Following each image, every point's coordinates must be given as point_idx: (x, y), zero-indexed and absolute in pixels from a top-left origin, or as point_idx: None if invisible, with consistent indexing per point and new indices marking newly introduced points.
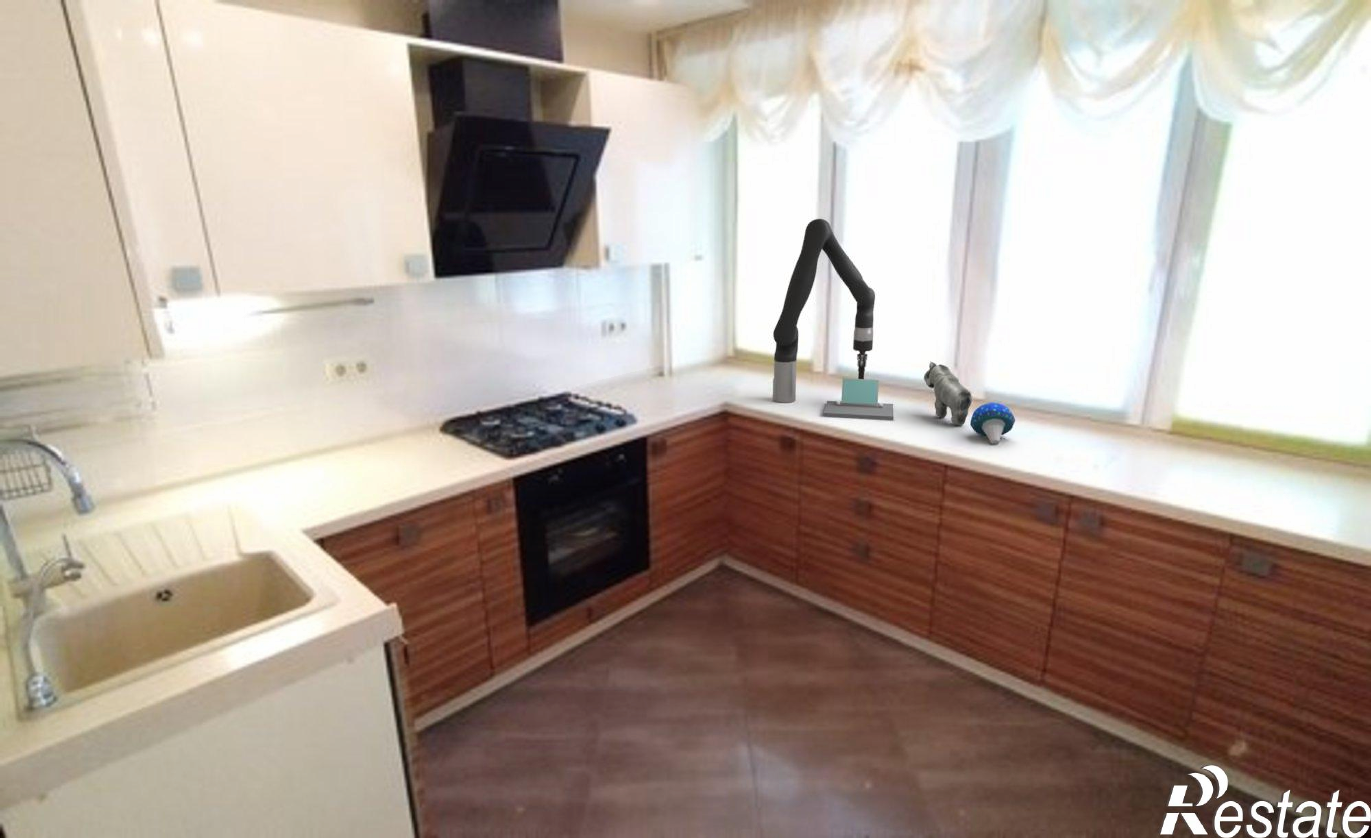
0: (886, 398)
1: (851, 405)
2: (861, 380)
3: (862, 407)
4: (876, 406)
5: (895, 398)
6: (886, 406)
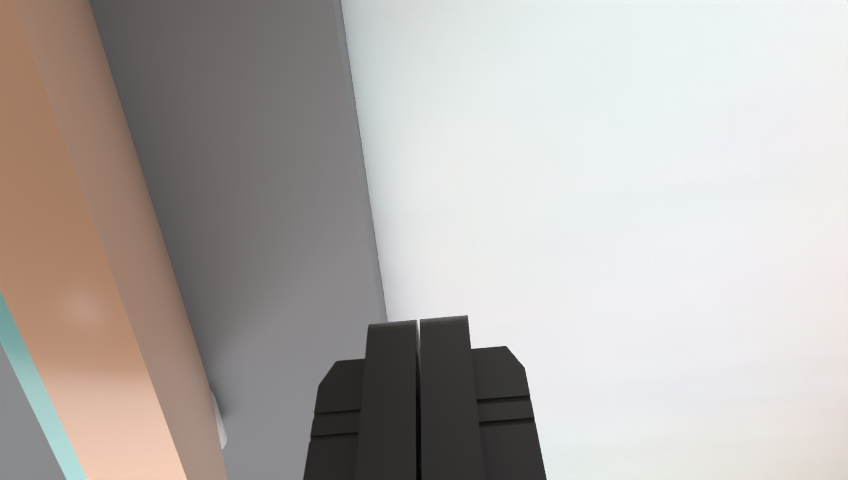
0: (801, 381)
1: (105, 51)
2: (72, 466)
3: None
4: (218, 364)
5: (804, 457)
6: (266, 453)
